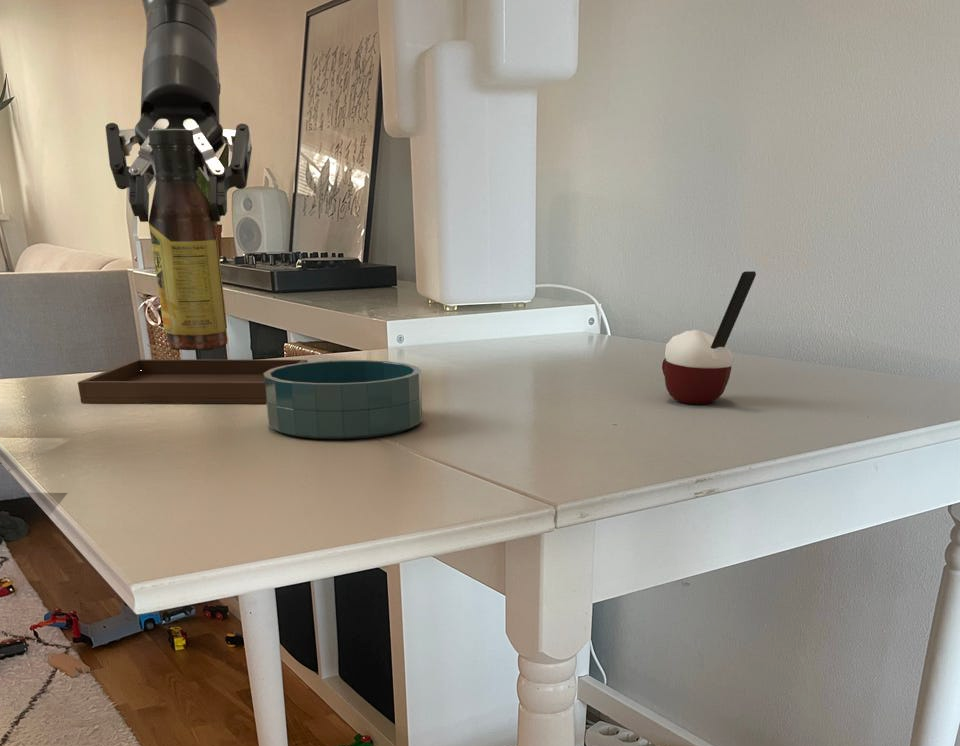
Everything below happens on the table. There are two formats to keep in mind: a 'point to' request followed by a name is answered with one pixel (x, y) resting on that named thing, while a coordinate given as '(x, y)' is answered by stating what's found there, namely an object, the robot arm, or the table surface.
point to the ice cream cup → (704, 355)
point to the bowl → (343, 398)
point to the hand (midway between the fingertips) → (178, 214)
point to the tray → (181, 381)
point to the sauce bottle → (185, 247)
